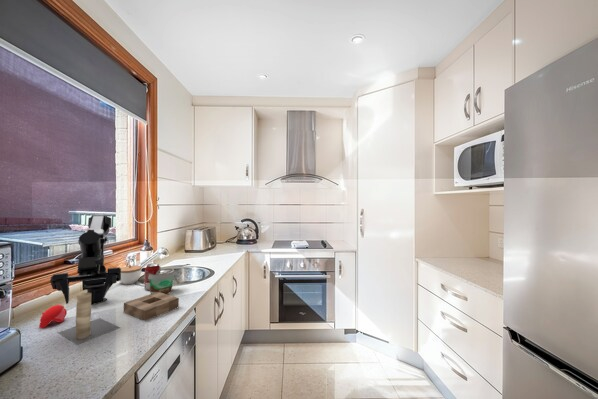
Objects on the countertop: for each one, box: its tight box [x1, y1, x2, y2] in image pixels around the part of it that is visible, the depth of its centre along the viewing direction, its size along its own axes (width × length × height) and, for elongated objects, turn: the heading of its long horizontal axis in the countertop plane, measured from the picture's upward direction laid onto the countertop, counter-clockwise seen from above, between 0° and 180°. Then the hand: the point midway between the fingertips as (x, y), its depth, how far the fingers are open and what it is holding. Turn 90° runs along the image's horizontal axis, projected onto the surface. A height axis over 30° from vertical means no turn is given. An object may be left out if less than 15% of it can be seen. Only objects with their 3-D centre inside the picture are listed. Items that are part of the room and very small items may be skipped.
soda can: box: [144, 262, 161, 291], centre depth 125 cm, size 7×7×12 cm
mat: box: [57, 317, 121, 346], centre depth 84 cm, size 14×12×1 cm
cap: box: [38, 304, 68, 329], centre depth 88 cm, size 8×6×6 cm
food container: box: [148, 268, 176, 295], centre depth 119 cm, size 12×6×10 cm, turn 148°
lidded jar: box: [119, 264, 143, 285], centre depth 134 cm, size 11×11×9 cm
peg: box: [75, 292, 92, 340], centre depth 80 cm, size 4×4×14 cm
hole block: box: [122, 292, 180, 321], centre depth 101 cm, size 14×14×4 cm
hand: (85, 300), depth 83 cm, fingers open, 9 cm apart
